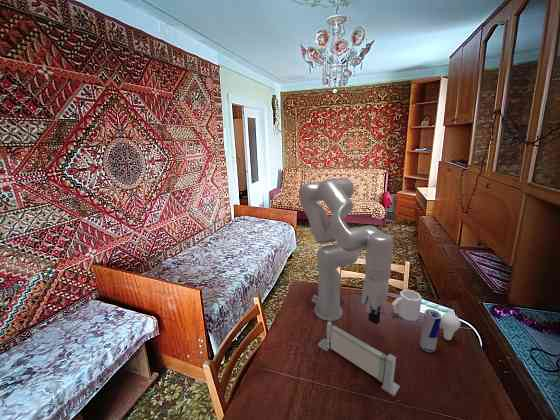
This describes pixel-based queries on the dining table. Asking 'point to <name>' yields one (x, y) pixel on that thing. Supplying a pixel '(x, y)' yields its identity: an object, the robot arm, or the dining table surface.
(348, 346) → the bar
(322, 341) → the gate posts
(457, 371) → the dining table surface
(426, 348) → the beverage can
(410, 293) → the mug
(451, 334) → the lightbulb
